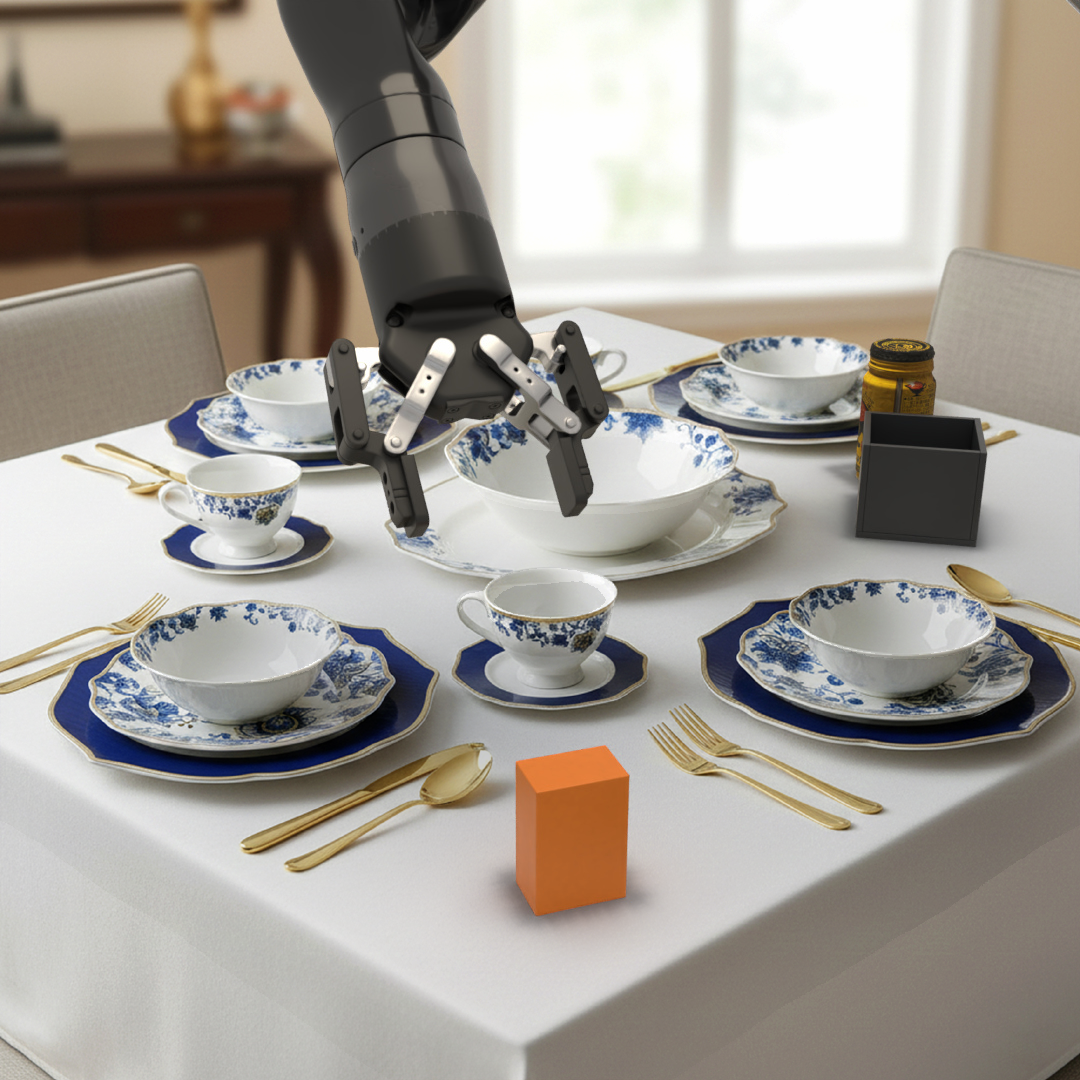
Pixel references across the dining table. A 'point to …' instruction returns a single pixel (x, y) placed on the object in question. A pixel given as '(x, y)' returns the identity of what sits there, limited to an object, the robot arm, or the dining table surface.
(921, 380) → the condiment
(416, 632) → the dining table surface
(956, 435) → the bin
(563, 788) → the block
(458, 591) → the dining table surface
